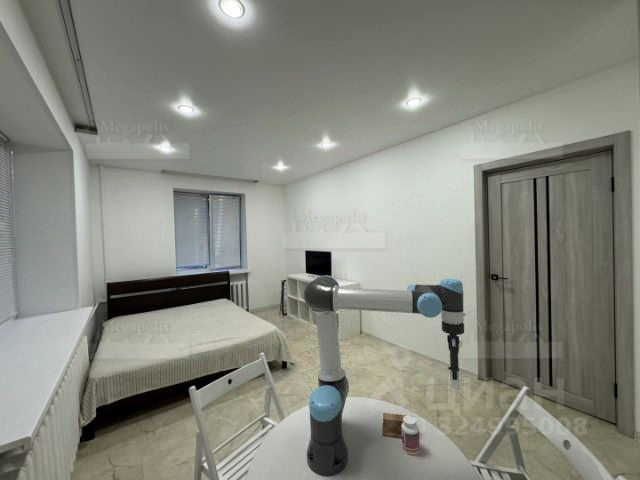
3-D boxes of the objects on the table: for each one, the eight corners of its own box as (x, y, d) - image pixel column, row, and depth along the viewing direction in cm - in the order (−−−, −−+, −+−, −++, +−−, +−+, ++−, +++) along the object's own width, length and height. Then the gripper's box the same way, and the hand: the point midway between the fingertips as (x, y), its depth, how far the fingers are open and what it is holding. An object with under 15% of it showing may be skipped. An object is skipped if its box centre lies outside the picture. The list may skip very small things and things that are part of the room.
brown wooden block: (382, 436, 106) (381, 421, 106) (382, 424, 113) (382, 410, 113) (416, 440, 103) (415, 425, 103) (414, 428, 110) (414, 413, 110)
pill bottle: (423, 450, 99) (421, 420, 99) (412, 458, 95) (411, 427, 95) (409, 440, 104) (408, 412, 104) (398, 447, 100) (397, 418, 100)
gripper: (466, 333, 85) (468, 399, 85) (462, 313, 108) (463, 365, 108) (441, 331, 89) (443, 394, 89) (441, 311, 111) (443, 361, 111)
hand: (454, 378), depth 98 cm, fingers open, 13 cm apart
